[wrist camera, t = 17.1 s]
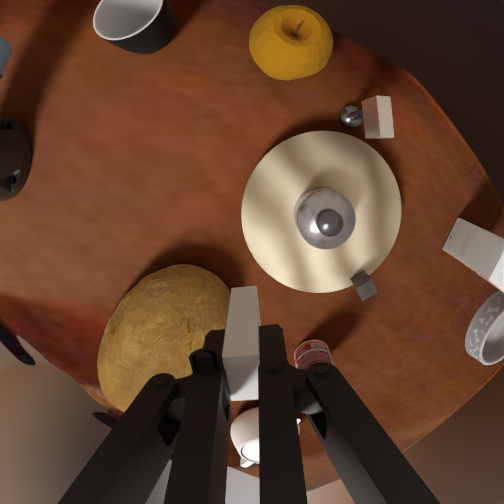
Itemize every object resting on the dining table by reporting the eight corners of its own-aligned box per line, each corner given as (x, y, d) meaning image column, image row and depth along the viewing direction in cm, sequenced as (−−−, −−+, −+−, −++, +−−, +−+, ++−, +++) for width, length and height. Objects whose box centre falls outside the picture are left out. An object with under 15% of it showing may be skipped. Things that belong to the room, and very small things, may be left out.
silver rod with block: (341, 139, 38) (374, 137, 27) (338, 106, 36) (369, 92, 25) (361, 139, 37) (399, 137, 26) (358, 106, 36) (395, 94, 25)
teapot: (269, 449, 59) (271, 486, 49) (215, 435, 57) (211, 473, 47) (324, 394, 53) (334, 435, 42) (261, 374, 51) (263, 419, 40)
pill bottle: (286, 351, 49) (293, 399, 38) (315, 331, 47) (330, 377, 37) (307, 370, 50) (317, 417, 40) (335, 352, 49) (351, 397, 38)
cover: (307, 248, 40) (315, 263, 34) (284, 201, 38) (289, 210, 32) (353, 225, 38) (368, 236, 33) (332, 177, 36) (345, 182, 31)
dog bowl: (500, 350, 52) (511, 362, 47) (453, 358, 51) (464, 373, 46) (526, 288, 46) (540, 298, 41) (482, 287, 46) (497, 300, 41)
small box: (440, 249, 43) (487, 280, 30) (457, 216, 41) (508, 239, 28) (466, 267, 44) (510, 298, 32) (482, 236, 42) (529, 262, 30)
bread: (256, 287, 45) (257, 324, 36) (170, 413, 55) (161, 449, 46) (148, 228, 42) (121, 250, 33) (92, 373, 52) (73, 405, 43)
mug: (195, 25, 32) (179, -6, 22) (153, 71, 34) (125, 52, 25) (138, -5, 30) (113, -34, 20) (100, 38, 32) (66, 18, 22)
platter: (297, 319, 45) (300, 335, 41) (209, 186, 38) (204, 191, 34) (419, 246, 41) (433, 256, 37) (352, 103, 34) (363, 98, 30)
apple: (279, 103, 36) (290, 84, 25) (233, 52, 34) (226, 18, 23) (334, 66, 34) (363, 39, 23) (289, 16, 32) (301, -24, 21)
